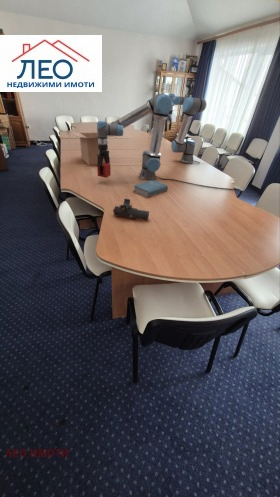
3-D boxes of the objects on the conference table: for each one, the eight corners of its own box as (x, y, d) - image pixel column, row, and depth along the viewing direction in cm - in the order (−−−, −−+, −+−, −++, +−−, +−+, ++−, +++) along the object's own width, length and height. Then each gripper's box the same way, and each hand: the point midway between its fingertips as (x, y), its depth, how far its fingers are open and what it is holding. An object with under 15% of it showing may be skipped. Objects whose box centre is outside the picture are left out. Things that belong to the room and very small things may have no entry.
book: (152, 185, 190) (153, 179, 187) (167, 191, 181) (167, 185, 178) (133, 191, 176) (133, 185, 173) (147, 198, 167) (148, 191, 164)
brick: (102, 173, 189) (101, 162, 184) (110, 175, 187) (110, 163, 181) (97, 175, 184) (96, 164, 178) (106, 177, 182) (105, 165, 176)
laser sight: (146, 223, 136) (147, 209, 130) (111, 218, 139) (111, 203, 133) (149, 216, 144) (150, 202, 138) (115, 211, 147) (115, 197, 141)
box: (116, 165, 229) (116, 136, 213) (83, 168, 214) (80, 137, 198) (102, 154, 259) (101, 128, 243) (71, 156, 244) (68, 129, 228)
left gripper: (105, 141, 179) (106, 169, 193) (91, 145, 165) (93, 176, 178) (113, 142, 177) (114, 171, 191) (99, 147, 162) (101, 177, 176)
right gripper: (170, 109, 263) (168, 129, 275) (163, 110, 244) (160, 131, 257) (176, 109, 260) (174, 129, 273) (169, 110, 242) (166, 132, 255)
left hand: (104, 173), depth 184 cm, fingers closed on brick, 7 cm apart
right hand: (167, 130), depth 265 cm, fingers open, 13 cm apart
